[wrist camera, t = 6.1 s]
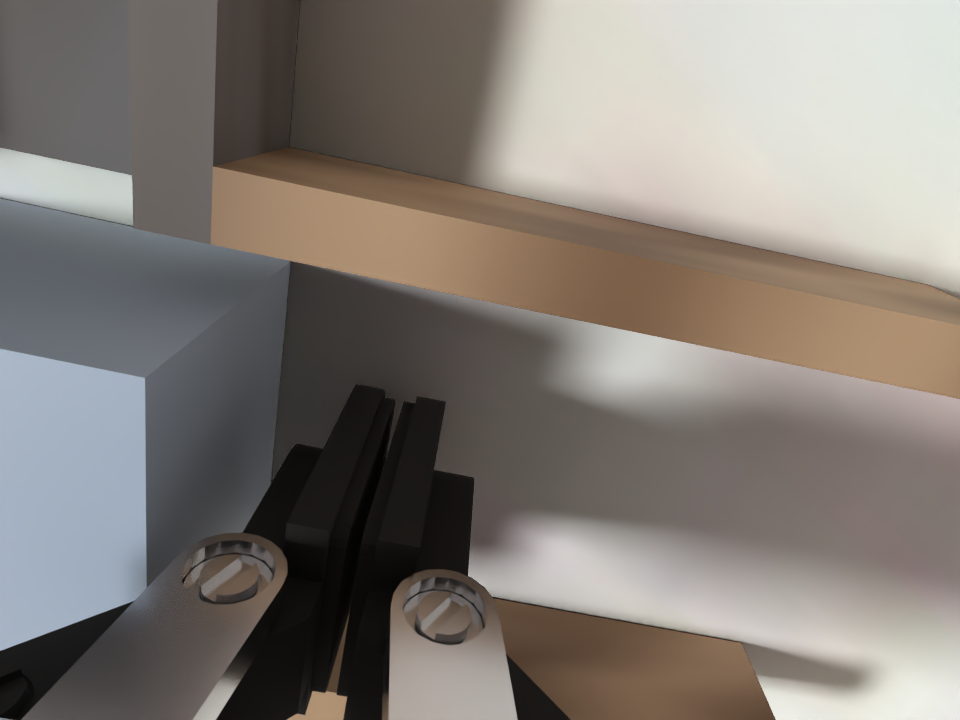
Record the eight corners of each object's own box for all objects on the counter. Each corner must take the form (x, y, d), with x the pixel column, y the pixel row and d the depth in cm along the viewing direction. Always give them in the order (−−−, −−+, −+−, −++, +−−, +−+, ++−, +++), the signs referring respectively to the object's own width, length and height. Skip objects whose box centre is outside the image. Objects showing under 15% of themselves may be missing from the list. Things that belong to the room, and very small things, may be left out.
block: (291, 261, 11) (145, 377, 7) (266, 520, 14) (147, 739, 9) (-47, 187, 11) (-449, 258, 6) (-11, 467, 13) (-282, 667, 9)
